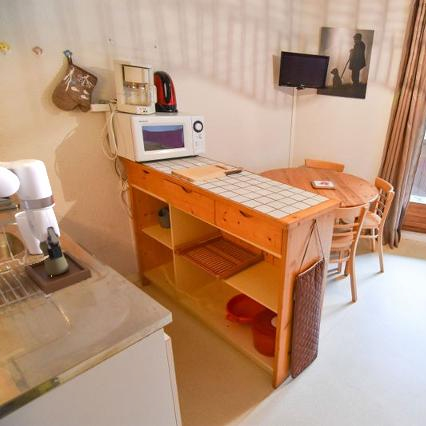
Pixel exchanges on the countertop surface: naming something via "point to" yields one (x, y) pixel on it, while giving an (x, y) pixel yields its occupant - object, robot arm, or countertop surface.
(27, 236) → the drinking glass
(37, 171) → the robot arm
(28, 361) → the countertop surface
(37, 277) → the tray
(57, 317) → the countertop surface
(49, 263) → the cork
